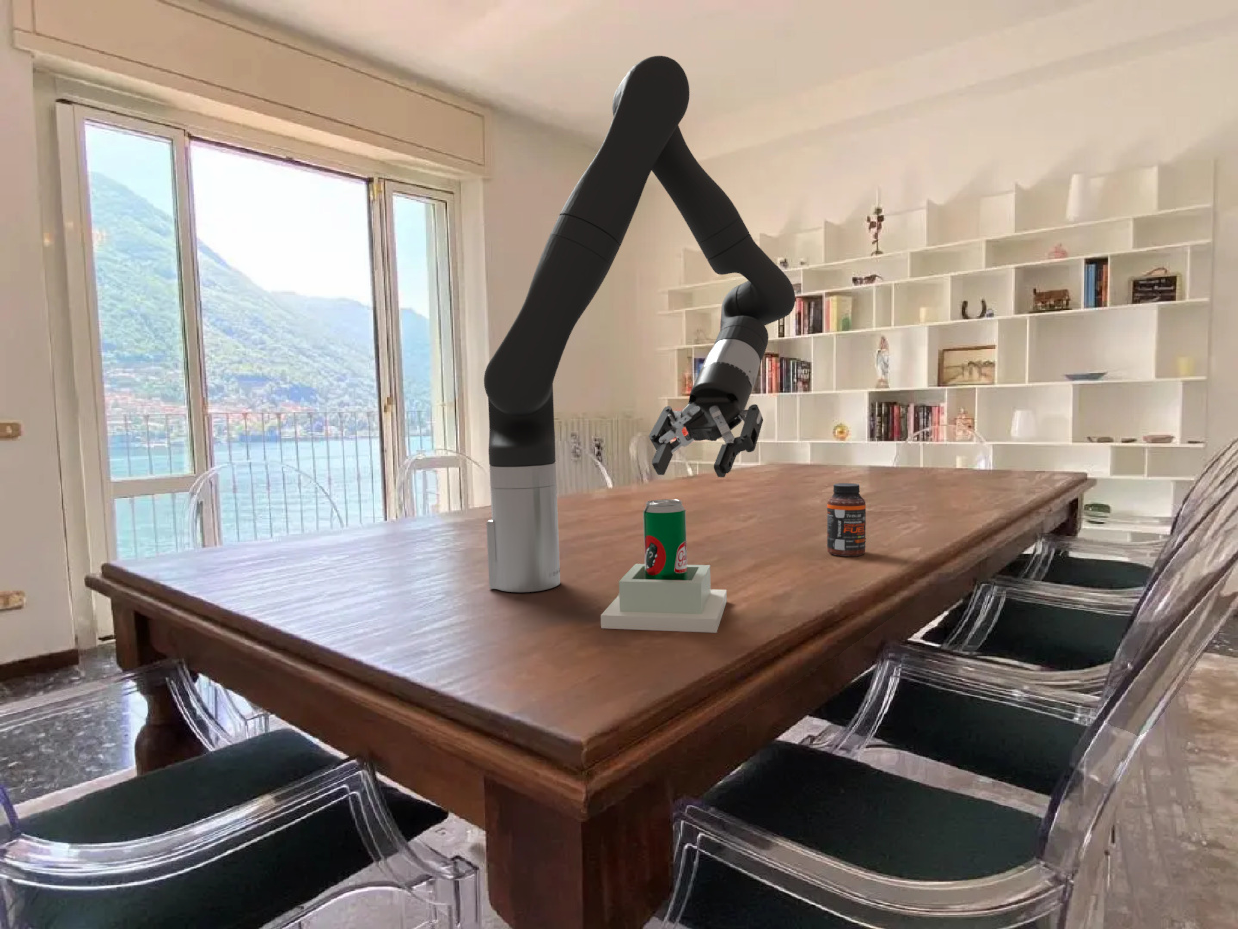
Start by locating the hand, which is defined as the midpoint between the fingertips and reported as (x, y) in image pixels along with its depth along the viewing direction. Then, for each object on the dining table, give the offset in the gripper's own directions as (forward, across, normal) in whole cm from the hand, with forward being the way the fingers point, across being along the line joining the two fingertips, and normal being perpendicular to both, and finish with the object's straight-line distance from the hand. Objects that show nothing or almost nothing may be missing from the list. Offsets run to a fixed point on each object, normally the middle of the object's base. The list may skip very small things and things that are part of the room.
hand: (687, 472), depth 93 cm
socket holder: (+16, 0, +8) cm, 18 cm away
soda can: (+15, 0, +7) cm, 16 cm away
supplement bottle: (-15, +8, +38) cm, 42 cm away
